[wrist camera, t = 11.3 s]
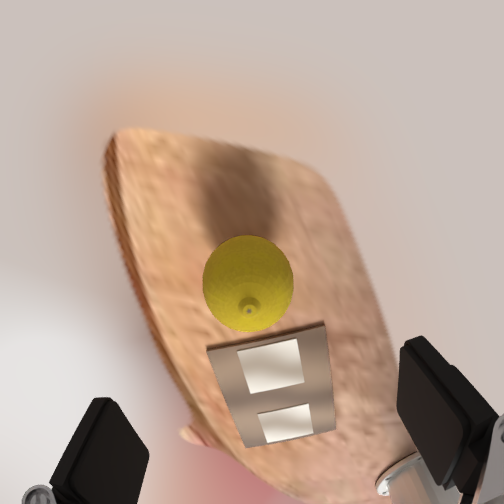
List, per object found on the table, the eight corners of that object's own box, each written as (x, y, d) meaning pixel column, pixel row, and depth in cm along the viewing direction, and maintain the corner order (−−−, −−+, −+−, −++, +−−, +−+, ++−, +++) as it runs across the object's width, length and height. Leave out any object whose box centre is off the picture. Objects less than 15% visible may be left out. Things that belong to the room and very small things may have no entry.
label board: (335, 427, 28) (336, 429, 28) (245, 446, 29) (245, 448, 28) (324, 324, 24) (325, 326, 24) (206, 349, 25) (206, 352, 24)
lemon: (229, 210, 22) (223, 238, 14) (297, 245, 23) (325, 288, 15) (196, 276, 23) (177, 331, 15) (261, 306, 24) (271, 369, 16)
